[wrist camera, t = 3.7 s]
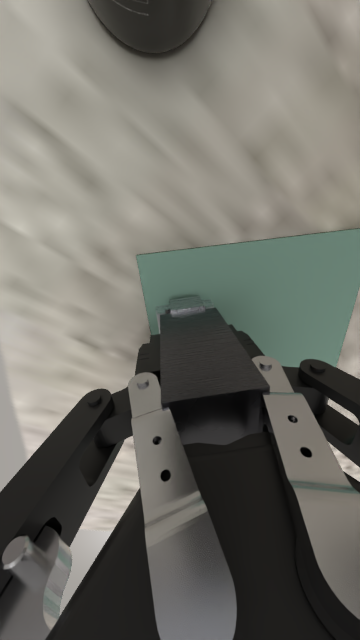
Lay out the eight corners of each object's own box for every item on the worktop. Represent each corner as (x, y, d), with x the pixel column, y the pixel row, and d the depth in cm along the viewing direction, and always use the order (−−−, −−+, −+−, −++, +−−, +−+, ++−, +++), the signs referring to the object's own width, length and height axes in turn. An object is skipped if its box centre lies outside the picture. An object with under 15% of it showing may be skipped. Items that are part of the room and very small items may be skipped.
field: (371, 226, 15) (377, 226, 15) (294, 499, 33) (296, 502, 33) (136, 254, 15) (136, 255, 14) (186, 518, 32) (186, 521, 32)
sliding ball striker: (306, 277, 16) (500, 347, 7) (286, 391, 21) (382, 515, 12) (159, 296, 15) (160, 398, 6) (176, 407, 21) (190, 550, 12)
